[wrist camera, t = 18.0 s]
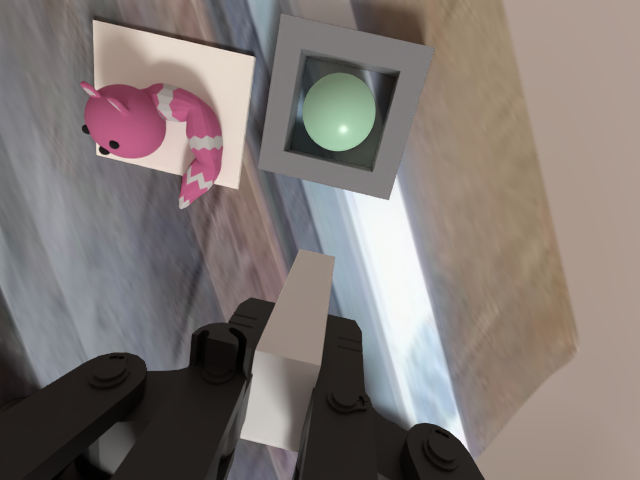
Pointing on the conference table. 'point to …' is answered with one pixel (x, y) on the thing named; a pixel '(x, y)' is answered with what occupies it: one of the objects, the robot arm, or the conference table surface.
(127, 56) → the paper sheet
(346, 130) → the button
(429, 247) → the conference table surface
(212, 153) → the toy
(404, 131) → the button housing
